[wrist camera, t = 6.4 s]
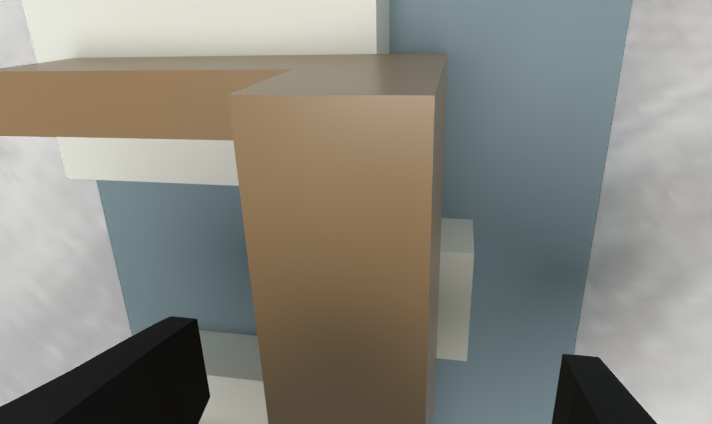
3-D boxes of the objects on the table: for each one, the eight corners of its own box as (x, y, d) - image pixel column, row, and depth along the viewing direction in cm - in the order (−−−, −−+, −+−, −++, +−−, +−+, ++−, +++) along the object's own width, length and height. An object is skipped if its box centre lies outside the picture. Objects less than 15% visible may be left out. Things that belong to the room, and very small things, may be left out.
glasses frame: (164, 450, 16) (48, 626, 12) (74, 57, 12) (-174, 94, 7) (431, 490, 15) (416, 710, 10) (447, 52, 10) (434, 95, 6)
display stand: (169, 418, 20) (123, 484, 17) (73, -36, 14) (-22, -44, 11) (545, 469, 17) (560, 556, 15) (629, -62, 11) (682, -82, 9)
